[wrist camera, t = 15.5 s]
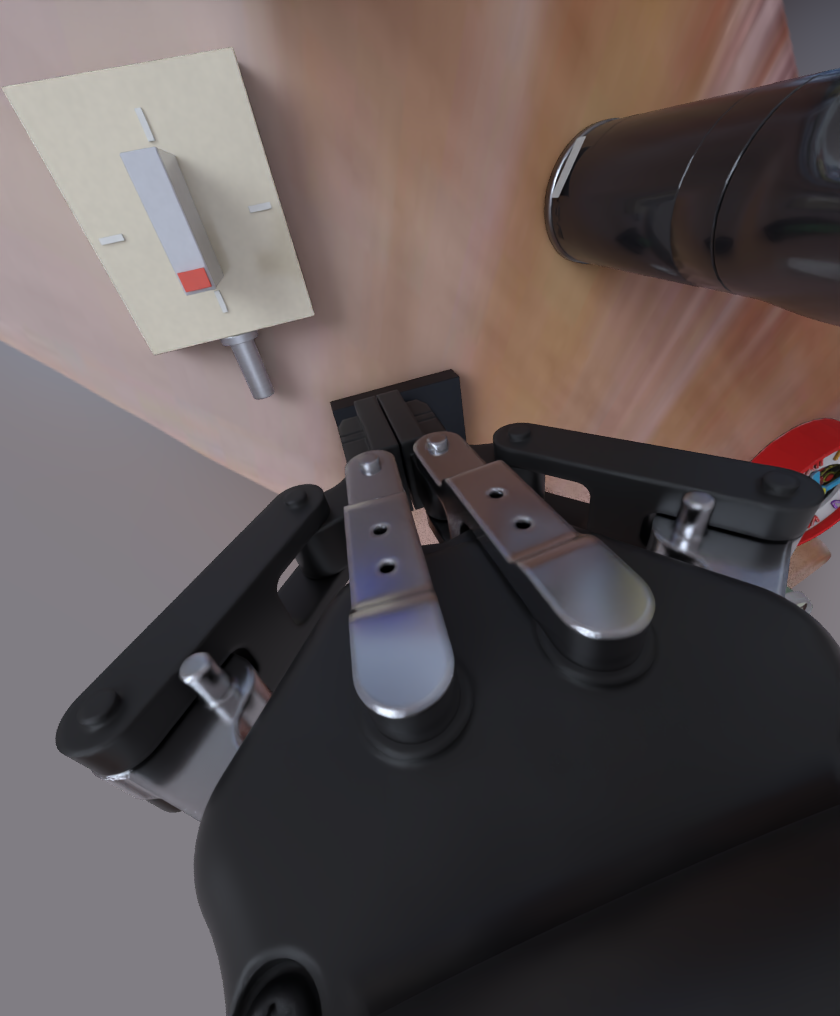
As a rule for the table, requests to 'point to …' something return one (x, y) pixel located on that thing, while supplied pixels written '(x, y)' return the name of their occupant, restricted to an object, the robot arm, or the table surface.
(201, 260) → the pale grey rectangular block
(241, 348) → the spout
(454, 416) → the button housing
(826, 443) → the toy clock
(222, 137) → the block
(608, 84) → the table surface
